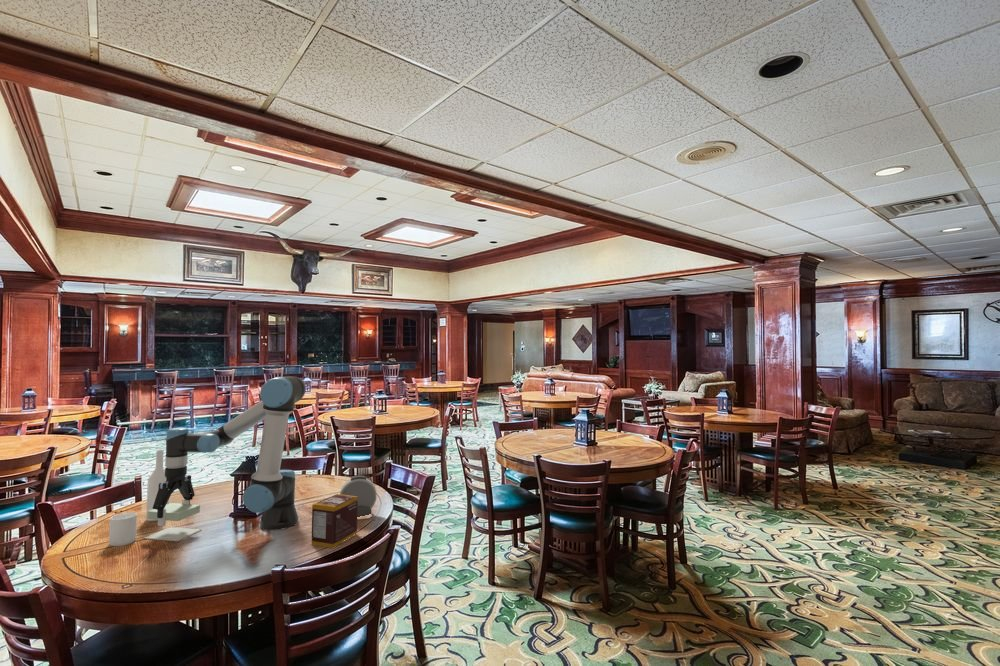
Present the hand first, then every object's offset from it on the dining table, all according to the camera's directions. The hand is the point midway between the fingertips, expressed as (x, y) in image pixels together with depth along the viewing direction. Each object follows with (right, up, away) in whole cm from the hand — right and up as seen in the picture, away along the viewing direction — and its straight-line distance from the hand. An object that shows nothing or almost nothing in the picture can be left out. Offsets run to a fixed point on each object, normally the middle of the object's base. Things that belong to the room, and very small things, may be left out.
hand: (173, 520), depth 195 cm
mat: (0, -6, 0) cm, 6 cm away
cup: (-15, -5, -7) cm, 18 cm away
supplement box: (+67, -6, -4) cm, 68 cm away
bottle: (-20, -7, +19) cm, 28 cm away
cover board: (0, +2, 0) cm, 2 cm away
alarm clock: (+68, -7, +23) cm, 72 cm away
